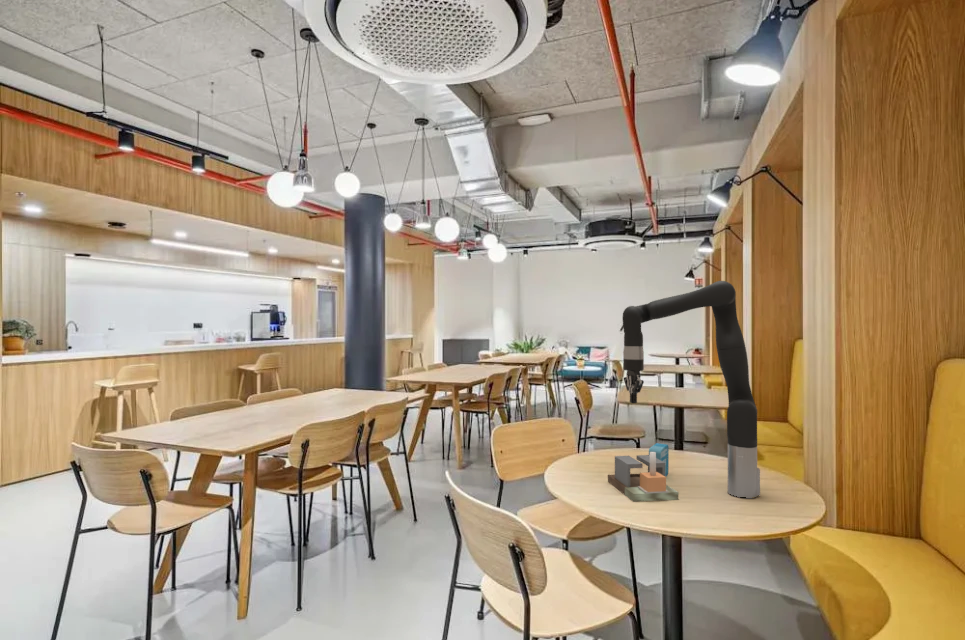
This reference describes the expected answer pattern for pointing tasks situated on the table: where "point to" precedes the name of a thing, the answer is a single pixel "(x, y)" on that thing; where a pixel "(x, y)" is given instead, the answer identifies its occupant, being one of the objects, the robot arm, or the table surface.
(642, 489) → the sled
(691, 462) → the table surface
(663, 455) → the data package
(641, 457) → the tunnel
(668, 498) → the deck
